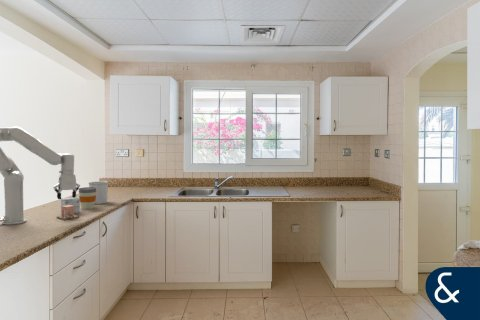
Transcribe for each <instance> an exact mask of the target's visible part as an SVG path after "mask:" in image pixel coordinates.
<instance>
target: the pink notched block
mask: <svg viewBox="0 0 480 320" xmlns="http://www.w3.org/2000/svg"><path fill="white" fill-rule="evenodd" d="M61 209H62V213H61V216H62V217H64V215H65V218H67V215H69V216H70V209H72V217H73V216H74V215H75V213H74V206H72V205H65V206H61V205H60V210H61ZM64 210H65V214H64ZM67 210H68V214H67Z"/></svg>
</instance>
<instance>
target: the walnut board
mask: <svg viewBox="0 0 480 320" xmlns="http://www.w3.org/2000/svg"><path fill="white" fill-rule="evenodd" d="M56 219H58V220H62V221H68V220H74V219H80V216H79V215H76V214H74V216H73V217H72V214H70V216H69V215H68V214H67V218H65V214H64V217H62V215H58V216H56Z"/></svg>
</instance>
